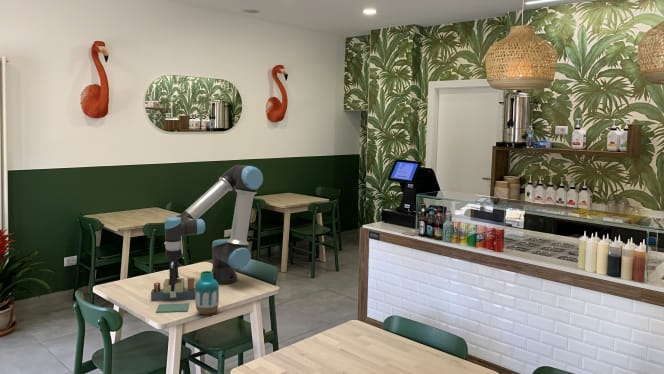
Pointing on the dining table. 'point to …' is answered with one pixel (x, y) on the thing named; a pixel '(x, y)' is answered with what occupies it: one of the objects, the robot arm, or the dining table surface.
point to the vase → (206, 293)
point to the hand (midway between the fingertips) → (174, 294)
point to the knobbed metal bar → (185, 295)
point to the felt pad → (172, 308)
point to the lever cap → (179, 285)
